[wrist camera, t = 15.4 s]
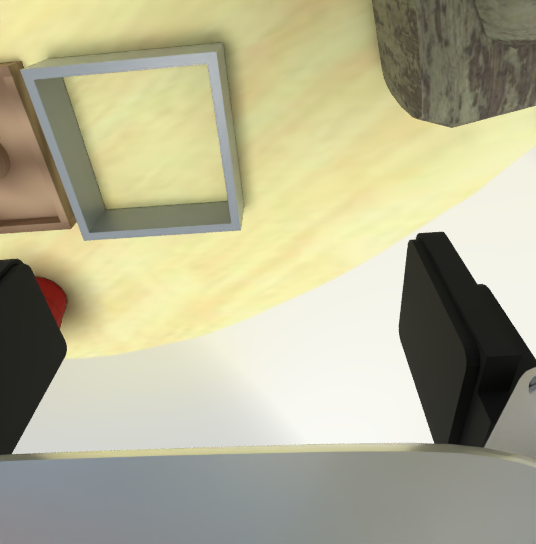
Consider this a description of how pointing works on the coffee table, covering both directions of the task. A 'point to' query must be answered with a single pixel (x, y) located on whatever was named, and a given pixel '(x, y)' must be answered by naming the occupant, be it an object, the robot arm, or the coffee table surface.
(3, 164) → the beige grooved cylinder
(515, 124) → the coffee table surface
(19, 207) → the tray
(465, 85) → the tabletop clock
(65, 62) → the grey square frame
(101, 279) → the coffee table surface
